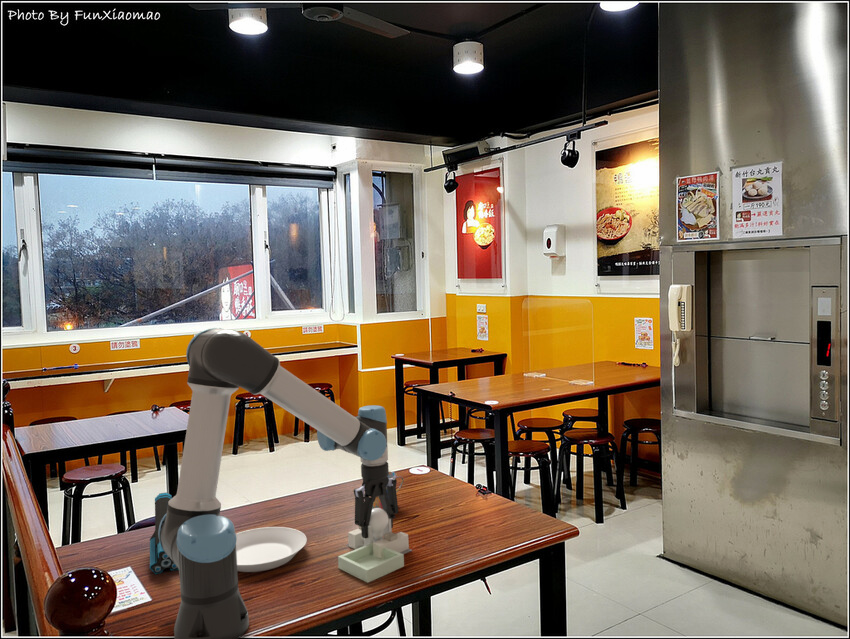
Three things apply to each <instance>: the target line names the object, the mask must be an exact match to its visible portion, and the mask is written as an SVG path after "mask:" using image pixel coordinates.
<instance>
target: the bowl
mask: <svg viewBox="0 0 850 639" xmlns="http://www.w3.org/2000/svg"><path fill="white" fill-rule="evenodd" d="M235 533H236V532H235ZM236 538H237V541H236V553H237V572H239V573H241V572H242V573H257V572H263V571H269V570H272V569H276V568H278V567H280V566H283V565H285V564H287V563H288V562H290V561H291V560H292V559H293V558H294V557H295V556H296V554H297V553H298V552H299V551H301V550H302V549H303V547H304V546H306V544H307V541H308V538H307V536H306V534H305V533H304V532H303V531H300V530H298V529H295V528H291V527H285V526H266V527H264V526H263V527H258V528H257V527H256V528H252V529H247V530H244V531H239V532H237V533H236Z"/></svg>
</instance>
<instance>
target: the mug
mask: <svg viewBox="0 0 850 639" xmlns="http://www.w3.org/2000/svg"><path fill="white" fill-rule="evenodd" d="M389 478H393V479H396V480H398V479H399V478H401V483H400V485H399V486H398V488H396V493H398V491H400V489H401V487H402V486H403V484H404V480H405V479H404V477H403V476H401V475H398V474H397V473H396V472H395V471H389V475H388V479H389ZM386 490H387V487H386ZM387 493H388V491H387ZM374 508H381V509H383V507H382V504H381V502H380V499H379V496H377V497H376V498H375V501H374V502H373V507H372V509H374Z"/></svg>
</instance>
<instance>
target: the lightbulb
mask: <svg viewBox="0 0 850 639" xmlns="http://www.w3.org/2000/svg"><path fill="white" fill-rule="evenodd" d="M388 521H389V518H388V515H387V513H386V511H385V510H383V509H381V508H372V512H371V517H370V522H369V525H370V526H371V528H372V537H373V542H377V541H379V540H382V539H383V538H384V530H385V528H386V527H387V525H388Z"/></svg>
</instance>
